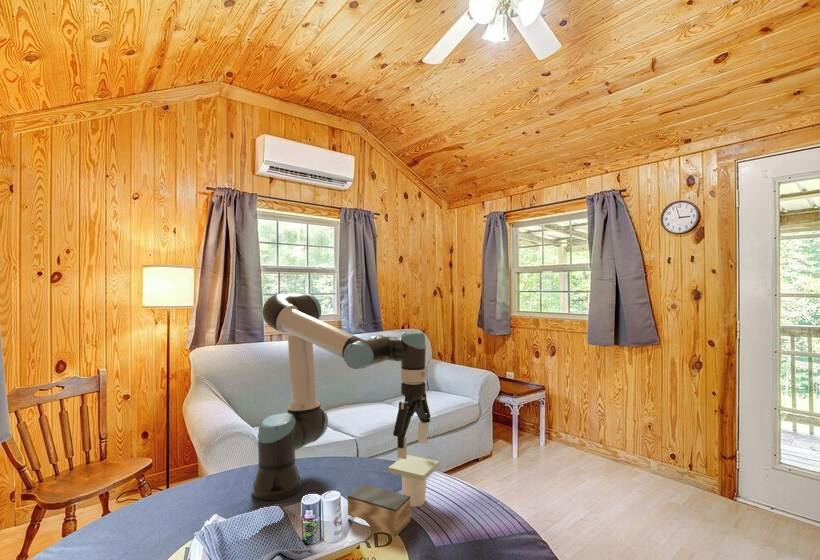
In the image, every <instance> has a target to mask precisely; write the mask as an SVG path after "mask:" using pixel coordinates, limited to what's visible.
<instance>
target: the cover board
mask: <svg viewBox="0 0 820 560" xmlns="http://www.w3.org/2000/svg"><path fill="white" fill-rule="evenodd" d="M439 467H440V461H438V460H434V459H428V458H424V457H420V456H416V455H410V454H407V458H406V459H402V458H398V460H397V461H395V462H393V463H392V464H391V465H389V466H388V473H390V474H394V475H397V476H398V475H399V476H401V477H402V476H406V477H410V478H414V479H418V480H422V481H424V480H425V479H426V480H427V478H428V477H429V476H430V475H431V474H433V473H434V472H435V471H436V470H437V469H438V468H439Z"/></svg>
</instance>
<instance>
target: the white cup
mask: <svg viewBox="0 0 820 560" xmlns="http://www.w3.org/2000/svg"><path fill="white" fill-rule="evenodd" d="M401 484H402V485H401V486H402V488H401V489H402V494H403V495H407V496H410V508H413V507H414V508H417V507H418V508H419V507H421V506H423V505H424V504H425V502H426V493H427V492H426V490H427V478H426V479H425V480H424V481H422V480H418V479H414V478H410V477H406V476H402V475H401Z"/></svg>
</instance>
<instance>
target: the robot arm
mask: <svg viewBox="0 0 820 560" xmlns="http://www.w3.org/2000/svg"><path fill="white" fill-rule="evenodd" d="M320 303H321V302H320V301H319V300H318V299H317V298H316V297H315V296H314V295H313V294H311V293H303V292H299V293H295V292H294V293H277V294H273V295H272V296H270V297H269V298H268V299H267V300H266V301H265V302H264V304H263V307H262V318H263V320H264V322H265V323H266V324H267V325H268V326H269V327H270V328H272V329H274V330H276V331H278V332H280V333H282V334H285V335H286V336H287V345H288V362H289V377H290V378H289V379H290V397H291V398H290V399H291V402H290V404H289V405H288V406H287V412H282V413H281V412H280V413H278V414H276V413H274V414H271V415H270V416H267V417H266V418H263V420H262V421H261V422H259V424H258V433H257V446H258V450H257V451H258V452H257V454H258V456H257V457H258V466H257V467H258V469H257V472H256V475H255V479H254V482H253V485H252V495H253V497H254V498H256V499H258V500H261V501H277V500H283V499H286V498H289V497H291V496H293V495H295V494H296V493H297V492H298V491H300V489H301V486H302V485H301V484H302V480H301V476H300V475H299V471H298V467H297V465H296V451H298V450H299V449H301V448H303V447H305V446H308V445H309V444H312V443H314V442H316V441H318V440H319V439H320V438H321V437H323V435H324V434H325V433H326V431H327V429H328V426H329V417H328V414H327V412H326V411H325V408H323V407H321V406H322V405H321V402H320V401H318V399H317V396H316V395H317V394H316V377H315V361H314V360H315V359H314V345H315V346H317V347H319V348H321V349H324V350H325V351H327V352H329V353H331V354H333V355H335V356H337V357H340V358H342V359H343V361H344V362H345V364H346V365H347V367H349V368H350V369H352V370H359V369H365V368H367V367H370V366H372V365H373V366H374V365H375V364H379V363H382V362H384V361H385V362H386V361H394V362H400V363H401V367H400V368H401V373H400V374H401V375H400V380H401V383H400V384H401V385H400V392H401V394H402V396H404V401H399V402H398V411H397V415H396V420H395V424H394V429H393V433H392V436H393V437H397V458H398V459H401V458H402V459H406V458H407V455H408V452H407V451H408V450H407V449H408V448H407V445H408V444H407V443H408V436H407V432H408V429H409V425H410V422H411V419H412V417H413V416H414V415H415V413H416V415H417V417H418V419H419V421H418V431H417V432H418V433H417V434H418V436H417V437H418V440H417V442H418V443H422V444H427V443H428V440H427V439H428V436H427V435H428V423H431V412H430V409H429V408H430V407H429V404H428V400H427V393H426V383H425V380H426V375H427V373H426V349H427V346H426V345H427V344H426V335H425V333H424V332H422V331H409V330H408V331H403V332H402V333H401V336H400V337H397V336H387V335H386V336H384V335H372V336H370V337H369V339H364V338H361V337H358V336H355V334H351V333H349V332H347V331H345V330H342V329H341V328H338V327H336V326H334V325H331V324H329V323H327V322H325V321H323V320H320V318H321V316H322V307H321V304H320Z"/></svg>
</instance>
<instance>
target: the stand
mask: <svg viewBox="0 0 820 560" xmlns="http://www.w3.org/2000/svg"><path fill="white" fill-rule="evenodd" d="M348 515H350V516H352V517H358V518H361V519H363V520H365V521H366V522H367V523H368V524H369V525H370V527H371V528H370V527H369V528H370V529H374V530H375V531H379V532H382V533H386V534H389V535H392V536H395V537H398V534H400V533H401V532H402V531H403V529H404V528H405V527H406V526H407V525H409V523H410V522H411V507H410V496H407V495H403V493H399V492H395V491H391V490H387V489H384V488H380V487H377V486H373V485H369V484H365V483H364V484H362V485H361V486H359V487H357V488H356V489H355V490H354V491H352V492H351V493H350V494H348V495H347V516H348Z"/></svg>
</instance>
